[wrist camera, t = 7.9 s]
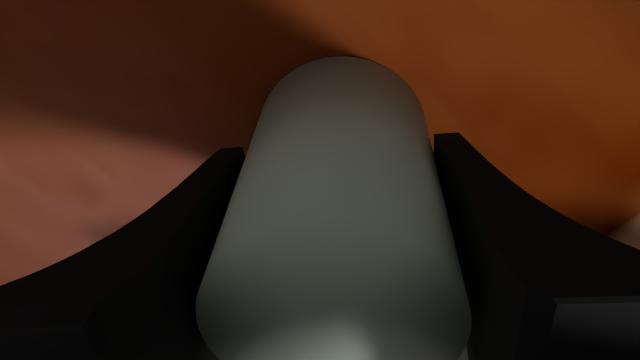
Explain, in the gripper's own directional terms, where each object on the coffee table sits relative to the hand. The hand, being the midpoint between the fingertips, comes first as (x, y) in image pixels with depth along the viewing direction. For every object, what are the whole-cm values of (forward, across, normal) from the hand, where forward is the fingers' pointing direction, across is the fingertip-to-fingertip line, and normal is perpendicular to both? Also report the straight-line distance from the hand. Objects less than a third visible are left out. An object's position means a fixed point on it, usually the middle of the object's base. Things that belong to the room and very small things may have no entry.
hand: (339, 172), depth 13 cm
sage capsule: (+2, 0, 0) cm, 2 cm away
